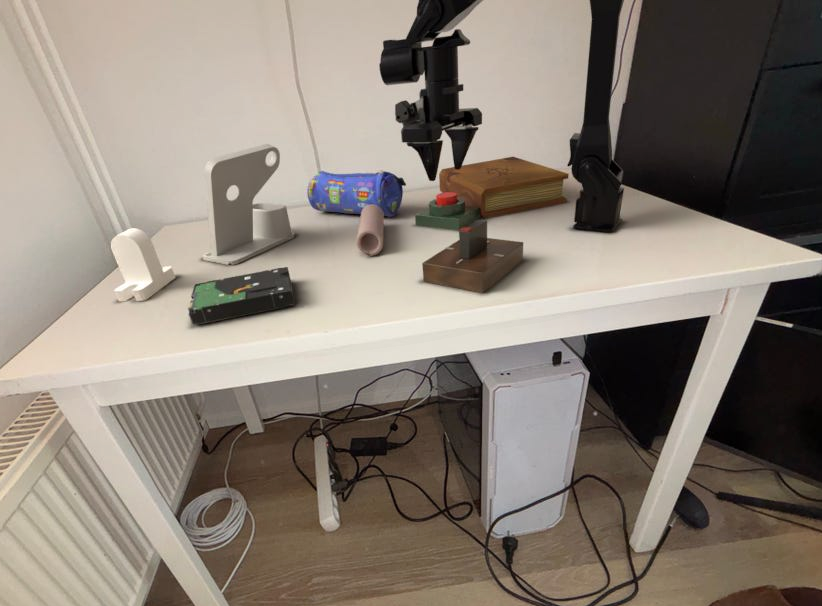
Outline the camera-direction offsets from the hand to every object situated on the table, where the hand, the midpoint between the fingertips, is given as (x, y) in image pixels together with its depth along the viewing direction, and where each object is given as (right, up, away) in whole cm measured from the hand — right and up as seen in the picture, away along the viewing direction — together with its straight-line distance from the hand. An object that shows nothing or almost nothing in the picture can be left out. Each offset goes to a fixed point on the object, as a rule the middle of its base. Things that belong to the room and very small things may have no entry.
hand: (445, 174), depth 91 cm
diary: (+14, 0, +16) cm, 21 cm away
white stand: (-52, -23, -7) cm, 58 cm away
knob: (+2, -19, -19) cm, 27 cm away
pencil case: (-18, -2, +18) cm, 25 cm away
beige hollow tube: (-14, -12, +1) cm, 18 cm away
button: (+1, -4, +3) cm, 6 cm away
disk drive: (-33, -26, -17) cm, 46 cm away
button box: (+1, -7, +5) cm, 9 cm away
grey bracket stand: (-38, -12, +6) cm, 41 cm away
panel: (+2, -21, -17) cm, 27 cm away
